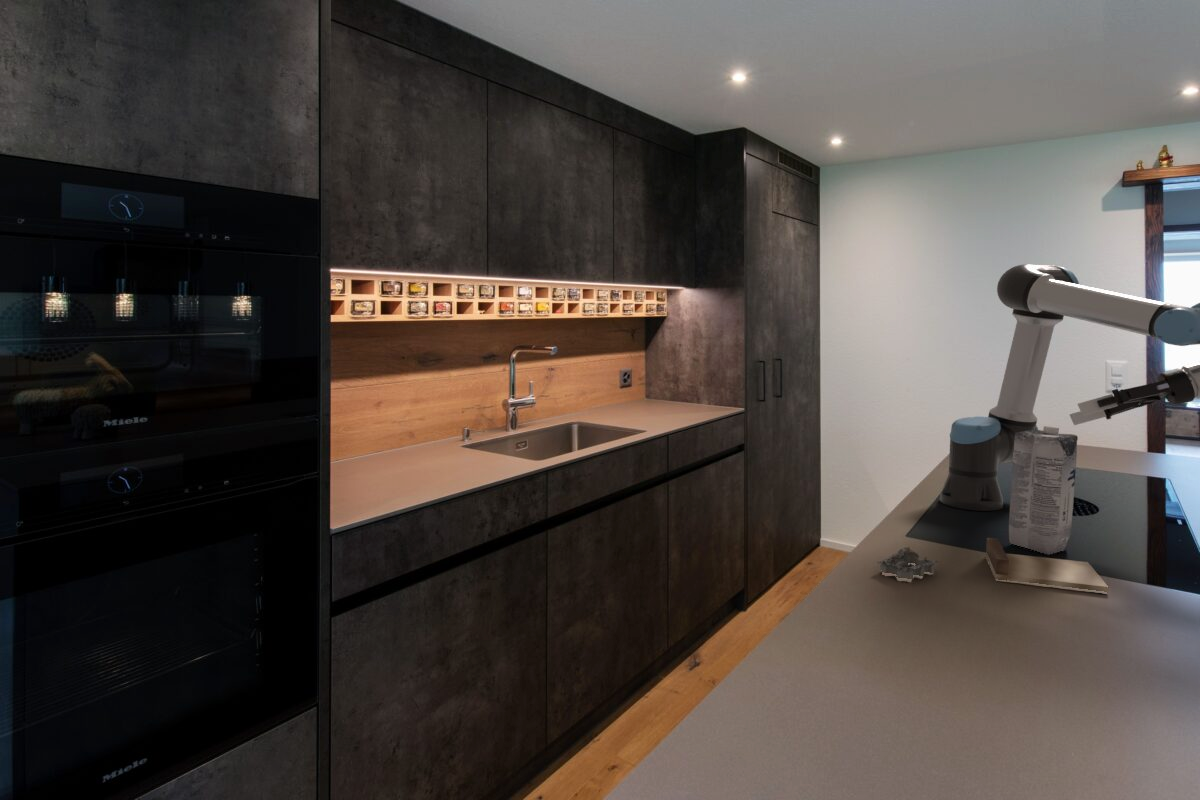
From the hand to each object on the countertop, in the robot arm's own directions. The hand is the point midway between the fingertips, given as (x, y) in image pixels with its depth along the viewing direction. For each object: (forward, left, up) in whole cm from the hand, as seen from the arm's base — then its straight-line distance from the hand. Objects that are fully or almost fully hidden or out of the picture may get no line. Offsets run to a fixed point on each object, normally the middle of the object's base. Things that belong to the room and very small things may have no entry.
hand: (1075, 415), depth 156 cm
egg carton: (-20, -49, -29) cm, 60 cm away
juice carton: (-3, -14, -29) cm, 32 cm away
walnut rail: (-7, -35, -27) cm, 45 cm away
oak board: (+1, -32, -28) cm, 43 cm away
